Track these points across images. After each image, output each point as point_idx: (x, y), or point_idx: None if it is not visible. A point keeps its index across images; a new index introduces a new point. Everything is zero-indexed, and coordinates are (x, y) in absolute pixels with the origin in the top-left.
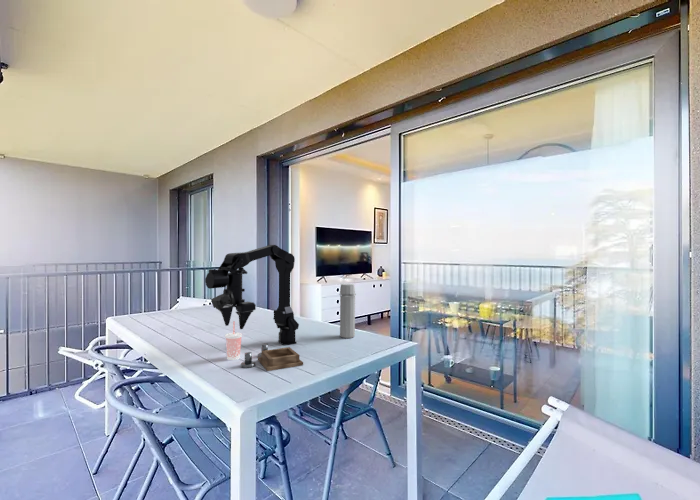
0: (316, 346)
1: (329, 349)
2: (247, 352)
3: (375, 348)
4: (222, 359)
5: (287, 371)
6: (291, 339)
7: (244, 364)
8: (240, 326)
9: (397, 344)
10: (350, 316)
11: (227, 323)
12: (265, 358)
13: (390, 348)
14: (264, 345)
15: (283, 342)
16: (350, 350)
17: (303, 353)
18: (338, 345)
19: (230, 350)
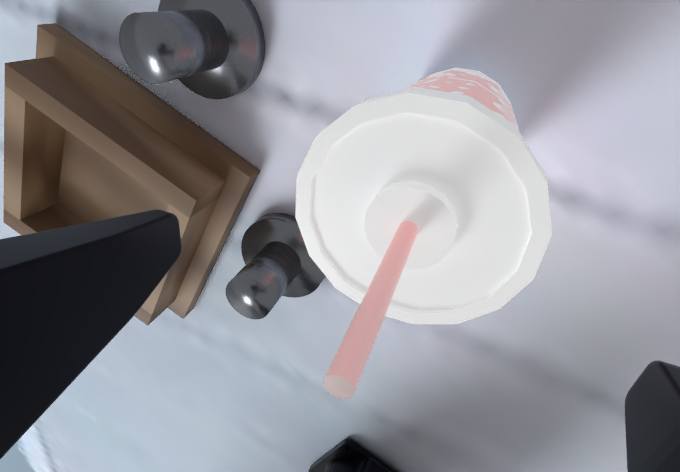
0: (208, 434)
1: (142, 406)
2: (169, 64)
3: (60, 432)
4: (531, 43)
5: (3, 86)
6: None
7: (204, 2)
8: (106, 220)
9: (55, 468)
10: None
11: (650, 421)
12: (115, 122)
13: (37, 435)
14: (233, 283)
15: (356, 461)
16: (87, 405)
17: (172, 343)
18: (158, 451)
19: (420, 82)
